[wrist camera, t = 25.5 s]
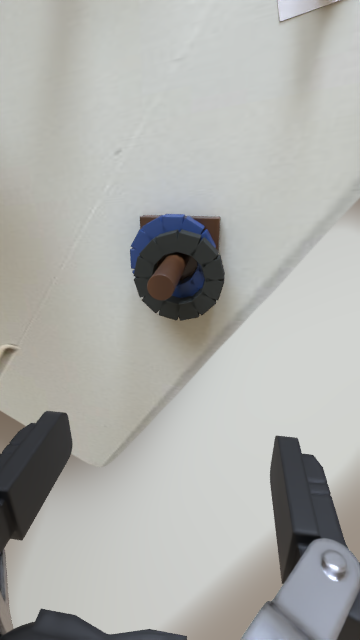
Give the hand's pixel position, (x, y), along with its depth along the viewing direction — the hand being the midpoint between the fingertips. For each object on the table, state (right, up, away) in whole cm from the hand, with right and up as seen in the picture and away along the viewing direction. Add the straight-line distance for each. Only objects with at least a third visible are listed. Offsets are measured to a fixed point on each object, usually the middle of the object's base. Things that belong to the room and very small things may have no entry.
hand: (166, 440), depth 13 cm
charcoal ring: (+1, +10, +25) cm, 27 cm away
